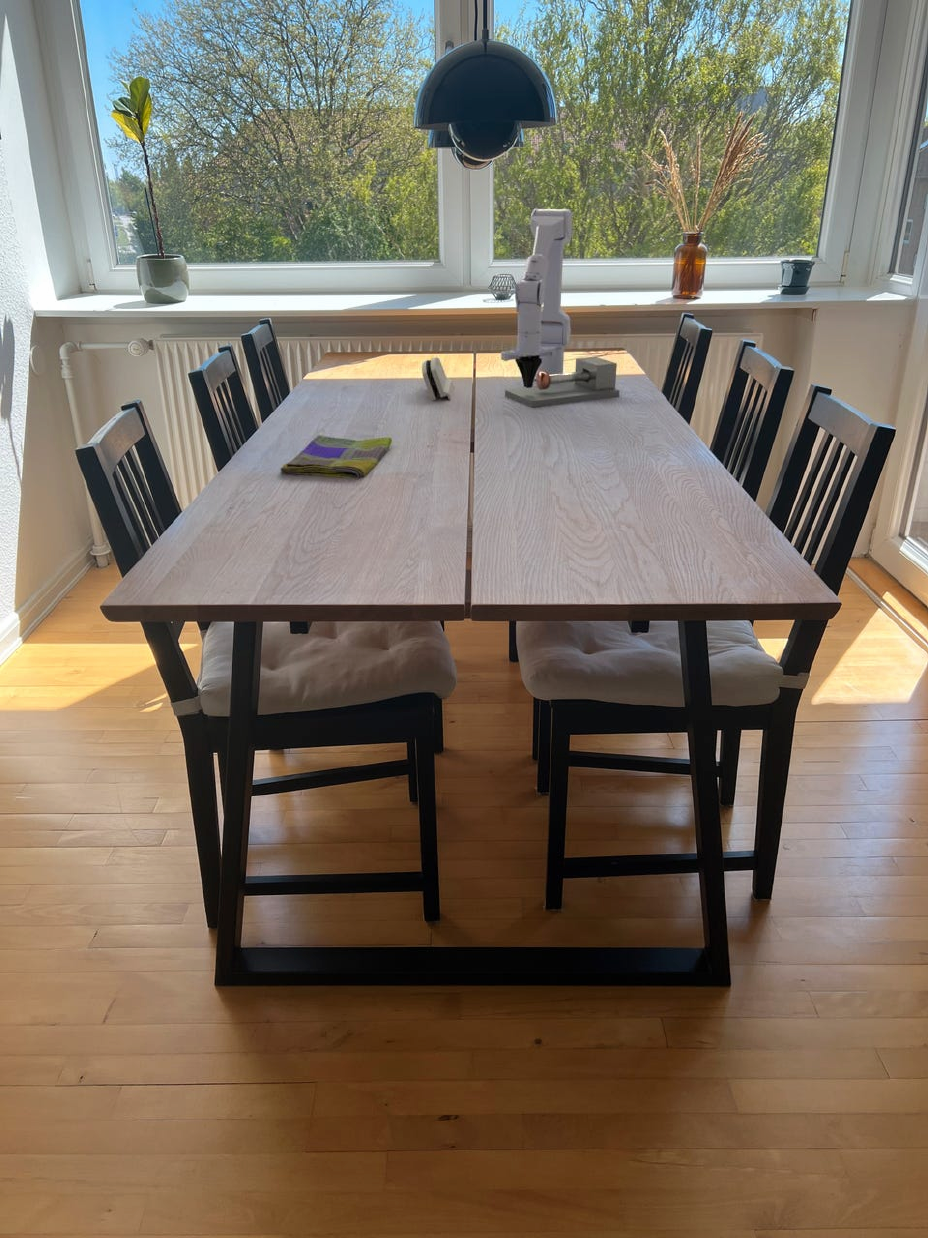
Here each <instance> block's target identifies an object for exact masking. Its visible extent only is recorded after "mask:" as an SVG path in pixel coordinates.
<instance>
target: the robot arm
mask: <svg viewBox="0 0 928 1238" xmlns="http://www.w3.org/2000/svg"><path fill="white" fill-rule="evenodd" d="M529 224H530V232H531V233H532V237H534V243H533V244H534V245H533V250H532V255H530V256H528V257H527V259H526V261H525V265H524V270H523V273H522V276H521V280H520V282H517V283H516V285H515V293H514V294H515V295H514V297H515V298H514V299H515V305H516V309H515V310H516V313H517V348H515V349H510V350H505V351H504V350H503V351H501V353H500V354H501V355H500V358H501V360H502V361H504V362H507V361H511V360H515V363H516V365H517V367H518V369H519V371H520V376H521V379H522V383H523V388H525V387H526V388H531V387H533V386H534V385H533V384H534V380H535V381H536V376H537V374H538V373H539V372H547V373H548V374H549V375H554V374H563V373H564V357H565V347H567V346H568V345H569V344H570V341H571V332H572V329H571V317H570V316H569V315H568V314H567V313H566V312H565V311H564V310H563V309H562V308H561V306H562V304H561V302H562V285H563V284H562V282H563V264H564V263H563V261H564V260H563V259H564V248H565V245H566V244H568V243H570V242H571V239H572V236H573V235H572V234H573V213H572V211H571V209H569V208H566V209H563V208H562V209H560V208H559V209H557V208H555V209H554V208H553V209H551V208H537V207H536V208H534V209H533V210H532V212H531V215H530V222H529ZM542 307H543V308H542Z"/></svg>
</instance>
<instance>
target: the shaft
mask: <svg viewBox="0 0 928 1238" xmlns="http://www.w3.org/2000/svg"><path fill="white" fill-rule="evenodd" d="M585 380H589V371H581V372H575V371H574V372H565V373H564V372H563V374H554V375H549V374H548V373H547V372H539V373H538V374H537V376H536V380H535V384H536V386H537V387H538V388H539V389H540V390H544V389H548V388H549V386H550V385H552V384H560V383H569V382H577V381H585Z"/></svg>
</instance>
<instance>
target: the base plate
mask: <svg viewBox="0 0 928 1238" xmlns="http://www.w3.org/2000/svg"><path fill="white" fill-rule="evenodd" d="M504 396H505V397H507V398H508V399H509V398H510V399H512V400H514V401H516V402H518V403H521V404H523V405H525V406H528V407H530V408H537V407H545V406H553V405H559V404H560V405H561V404H566V403H567V404H568V403H570V404H571V403H574V402H575V403H576V402H583V401H584V402H585V401H591V400H599V399H600V400H601V399H606V398H607V399H608V398H615V397H619V396H620V389H617V388H615V389H609V390H601V391H594V390H591V389H588V388H586V387H583V386H580V385H578V384H575V382H569V383H560V384H552V385H550V386H549V388H548V389H544V390H540V389H539V388H538V387H537V385H536V386H534V385H533V386H532V387H531V388H526V387H520V388H519V387H517V388H510V389H505V390H504Z"/></svg>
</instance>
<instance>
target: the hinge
mask: <svg viewBox="0 0 928 1238" xmlns="http://www.w3.org/2000/svg"><path fill="white" fill-rule="evenodd" d="M421 372H422V377H423V381H424V383H425V386H426V388H427V391H428V394H429V397H430V400H431V401H435V400H437V398H443V397H447V398H448V401H451V400H452V397H453V393H454V388H455V385H454V382H453V380H452V379H451V378H448V377H447V375H446V373H445V370H444V367H443V365H442V362H441V360H440V358H439V357H432V358H431V359H430V360H429V359H427V360H424V361H423V362H422V365H421Z"/></svg>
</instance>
